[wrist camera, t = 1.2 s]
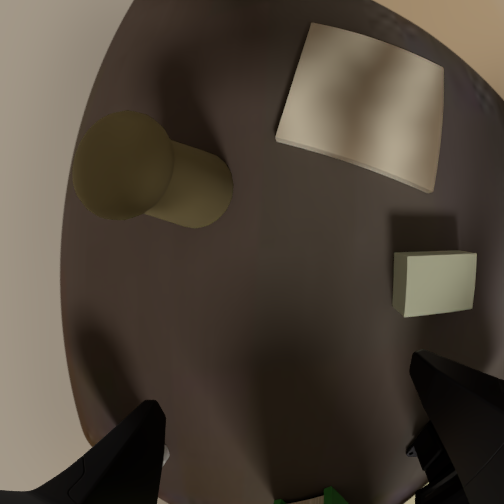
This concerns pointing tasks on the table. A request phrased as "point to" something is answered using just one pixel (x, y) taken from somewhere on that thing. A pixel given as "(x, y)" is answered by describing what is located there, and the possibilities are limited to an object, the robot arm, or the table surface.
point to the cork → (148, 174)
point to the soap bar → (433, 282)
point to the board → (366, 105)
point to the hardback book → (321, 498)
